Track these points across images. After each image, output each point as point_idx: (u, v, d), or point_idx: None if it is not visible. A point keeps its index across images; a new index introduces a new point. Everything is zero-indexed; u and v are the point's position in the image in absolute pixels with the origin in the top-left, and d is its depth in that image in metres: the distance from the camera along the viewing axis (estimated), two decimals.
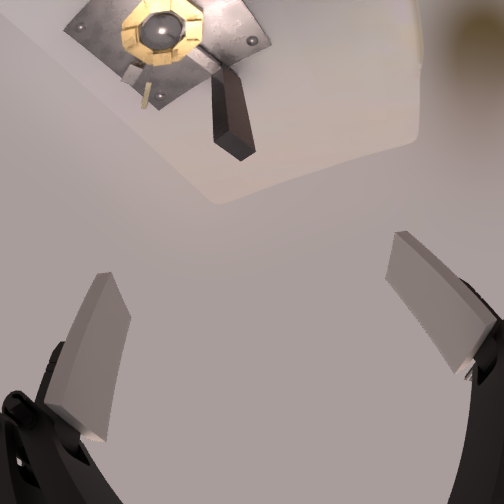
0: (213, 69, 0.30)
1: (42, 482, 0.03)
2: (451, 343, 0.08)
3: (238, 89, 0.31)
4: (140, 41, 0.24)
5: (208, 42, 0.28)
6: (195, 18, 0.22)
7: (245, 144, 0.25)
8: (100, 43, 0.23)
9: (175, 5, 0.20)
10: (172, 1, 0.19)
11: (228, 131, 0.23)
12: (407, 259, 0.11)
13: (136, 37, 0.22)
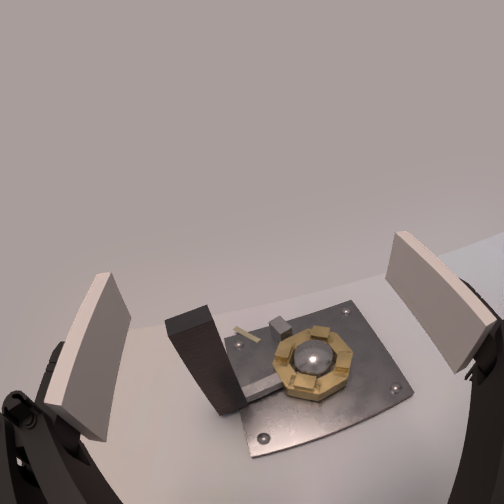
0: (246, 390, 0.31)
1: (42, 482, 0.03)
2: (451, 343, 0.08)
3: (217, 396, 0.27)
4: None
5: (277, 399, 0.31)
6: (315, 387, 0.29)
7: (185, 329, 0.21)
8: (321, 319, 0.41)
9: (337, 374, 0.30)
10: (342, 372, 0.30)
11: (211, 318, 0.22)
12: (407, 259, 0.11)
13: (316, 338, 0.35)
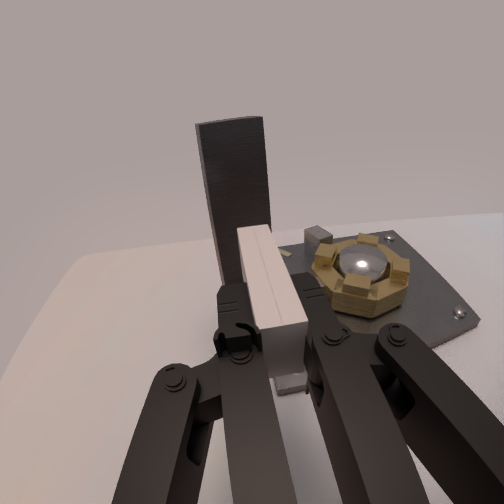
0: None
1: (231, 425, 0.05)
2: None
3: (238, 282, 0.21)
4: None
5: None
6: (370, 292, 0.22)
7: (223, 121, 0.15)
8: None
9: (394, 281, 0.23)
10: (400, 280, 0.23)
11: (260, 116, 0.16)
12: None
13: None
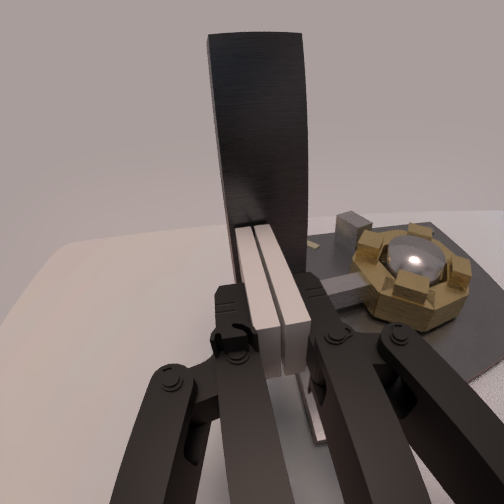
0: None
1: (228, 426, 0.05)
2: None
3: None
4: None
5: (361, 327, 0.17)
6: (426, 299, 0.15)
7: (245, 32, 0.08)
8: None
9: (453, 286, 0.16)
10: (459, 286, 0.16)
11: (299, 33, 0.09)
12: (259, 252, 0.12)
13: None
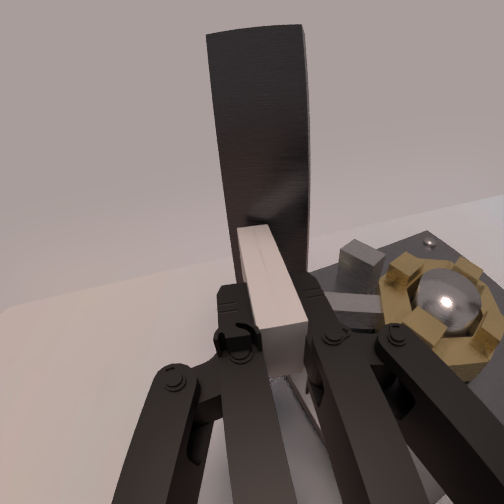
0: None
1: (231, 425, 0.05)
2: None
3: None
4: None
5: None
6: (435, 350, 0.12)
7: None
8: None
9: (475, 345, 0.11)
10: (484, 347, 0.11)
11: (300, 25, 0.08)
12: None
13: None
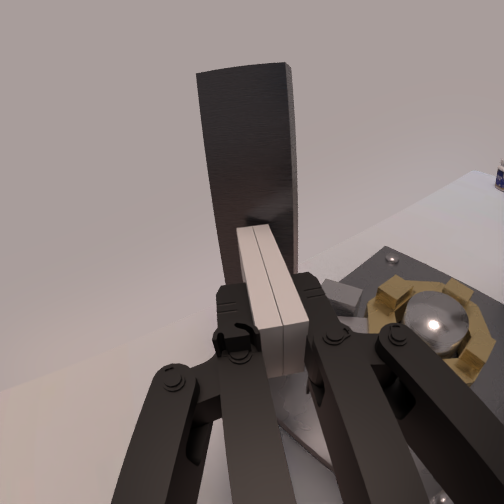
0: None
1: (230, 425, 0.05)
2: None
3: None
4: None
5: None
6: None
7: (228, 68, 0.10)
8: (372, 277, 0.24)
9: (461, 366, 0.12)
10: (469, 368, 0.11)
11: (284, 62, 0.09)
12: None
13: None
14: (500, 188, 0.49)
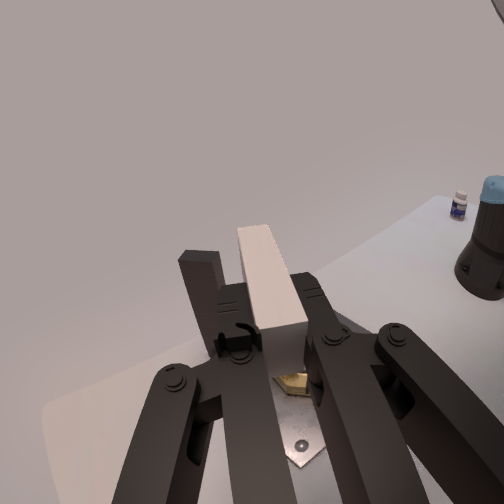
0: None
1: (231, 425, 0.05)
2: None
3: (209, 336, 0.34)
4: None
5: (291, 405, 0.29)
6: (289, 378, 0.30)
7: (190, 260, 0.28)
8: None
9: None
10: None
11: (212, 261, 0.27)
12: None
13: None
14: (454, 217, 0.67)
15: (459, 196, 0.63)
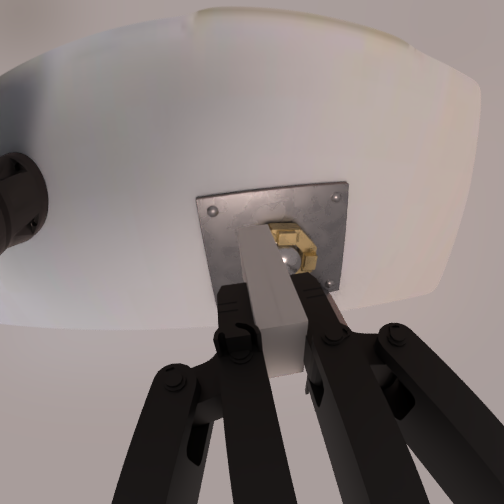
0: None
1: (231, 425, 0.05)
2: None
3: (338, 310, 0.43)
4: None
5: (316, 229, 0.41)
6: (310, 251, 0.40)
7: None
8: None
9: (297, 238, 0.38)
10: None
11: None
12: None
13: None
14: None
15: None
